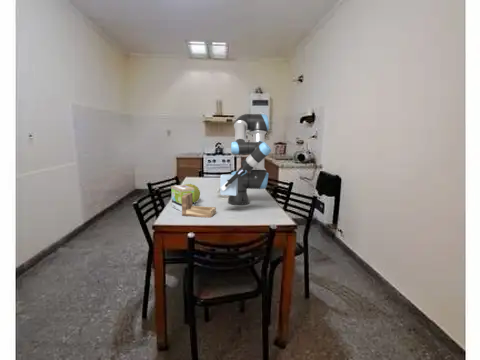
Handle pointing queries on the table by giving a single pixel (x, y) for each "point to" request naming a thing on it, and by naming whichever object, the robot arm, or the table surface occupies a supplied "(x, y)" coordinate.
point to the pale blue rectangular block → (231, 188)
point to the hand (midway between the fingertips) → (223, 188)
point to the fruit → (195, 191)
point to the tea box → (180, 195)
